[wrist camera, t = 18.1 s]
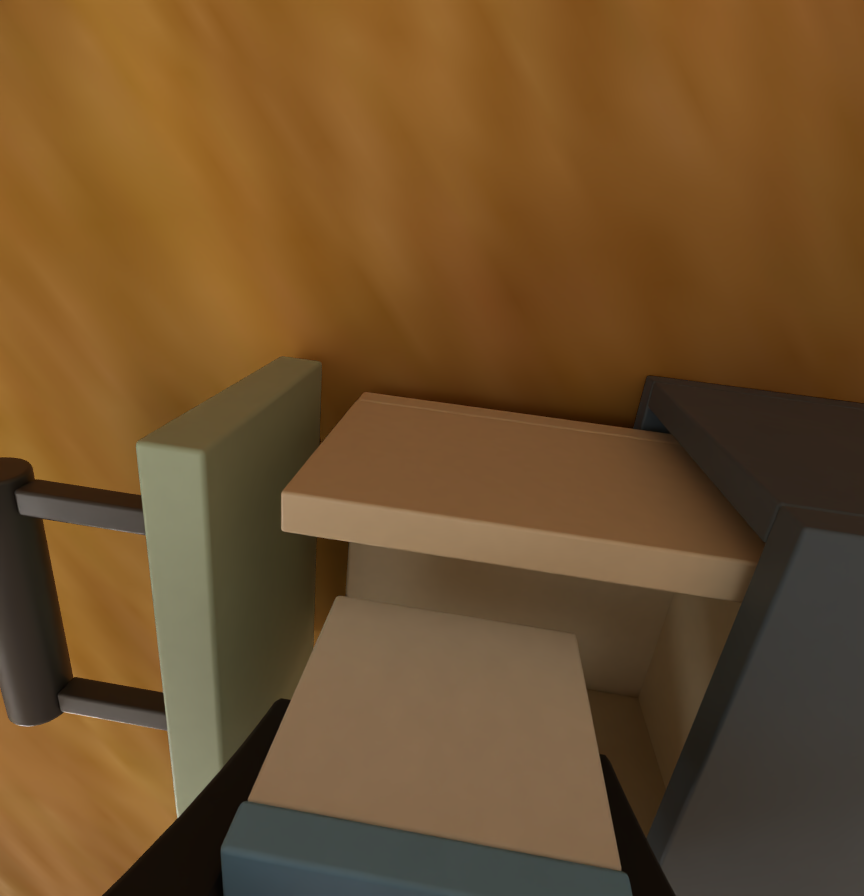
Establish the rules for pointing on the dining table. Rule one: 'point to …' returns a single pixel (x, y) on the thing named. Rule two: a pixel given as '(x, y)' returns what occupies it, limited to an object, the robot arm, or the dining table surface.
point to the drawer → (387, 561)
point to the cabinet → (775, 652)
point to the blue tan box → (430, 767)
